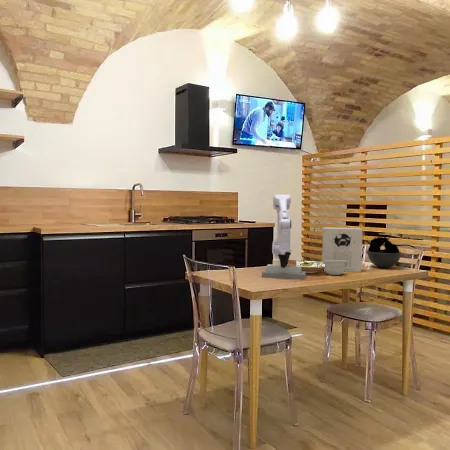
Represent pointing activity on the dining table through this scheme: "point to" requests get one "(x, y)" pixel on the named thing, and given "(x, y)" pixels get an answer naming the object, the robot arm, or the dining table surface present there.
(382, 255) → the coal bowl
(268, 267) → the grey rectangular bar
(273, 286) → the dining table surface
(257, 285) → the dining table surface
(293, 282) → the dining table surface
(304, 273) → the block
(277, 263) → the crate cream
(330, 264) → the teacup
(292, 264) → the crate terracotta
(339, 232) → the cereal box
